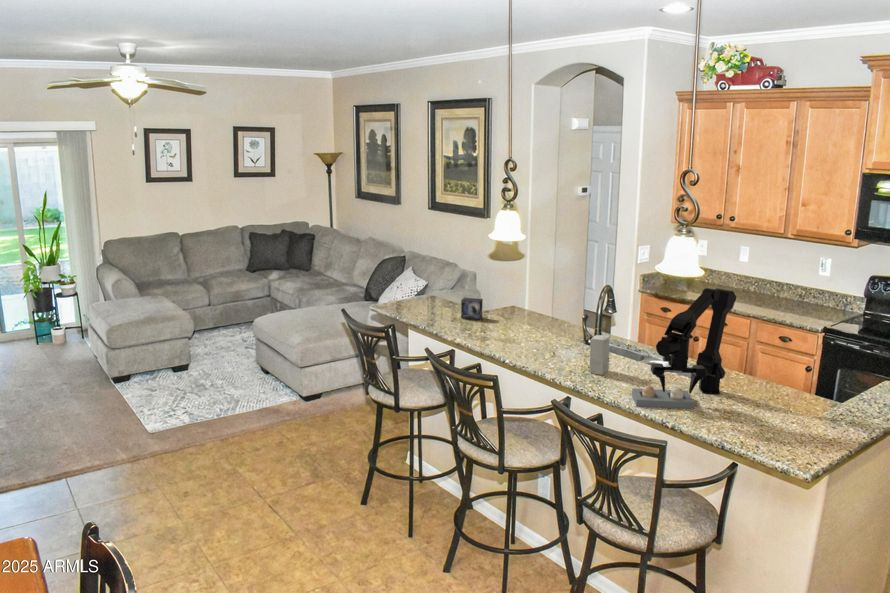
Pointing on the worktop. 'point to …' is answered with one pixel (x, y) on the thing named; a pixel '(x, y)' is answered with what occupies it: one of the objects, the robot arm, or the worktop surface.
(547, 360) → the worktop surface
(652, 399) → the egg carton
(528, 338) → the worktop surface
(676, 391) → the egg
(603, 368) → the skincare box
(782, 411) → the worktop surface
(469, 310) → the small box
